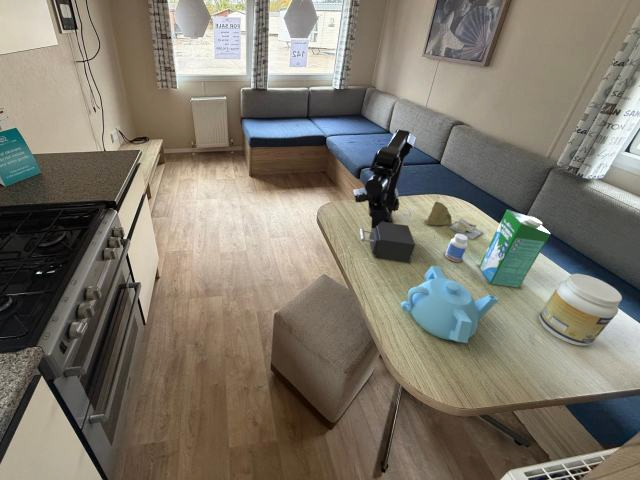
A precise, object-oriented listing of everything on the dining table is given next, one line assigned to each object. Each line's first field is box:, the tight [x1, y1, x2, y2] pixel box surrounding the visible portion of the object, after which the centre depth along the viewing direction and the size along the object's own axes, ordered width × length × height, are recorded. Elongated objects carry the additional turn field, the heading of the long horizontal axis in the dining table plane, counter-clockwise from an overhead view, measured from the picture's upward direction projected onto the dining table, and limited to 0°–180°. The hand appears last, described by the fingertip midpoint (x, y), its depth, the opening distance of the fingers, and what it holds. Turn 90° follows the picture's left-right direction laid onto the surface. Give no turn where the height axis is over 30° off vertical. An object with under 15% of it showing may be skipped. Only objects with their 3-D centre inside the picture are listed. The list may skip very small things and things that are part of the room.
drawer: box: [359, 227, 379, 256], centre depth 120 cm, size 16×11×7 cm
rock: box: [425, 201, 453, 226], centre depth 137 cm, size 11×9×10 cm
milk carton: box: [479, 209, 551, 288], centre depth 104 cm, size 9×9×25 cm
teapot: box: [400, 265, 499, 344], centre depth 90 cm, size 19×19×14 cm
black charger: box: [374, 221, 416, 264], centre depth 119 cm, size 12×13×9 cm
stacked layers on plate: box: [448, 214, 483, 240], centre depth 134 cm, size 10×9×6 cm
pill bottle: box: [445, 233, 469, 263], centre depth 116 cm, size 6×5×10 cm
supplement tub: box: [538, 273, 623, 347], centre depth 87 cm, size 12×12×17 cm
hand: (371, 221), depth 117 cm, fingers open, 9 cm apart
